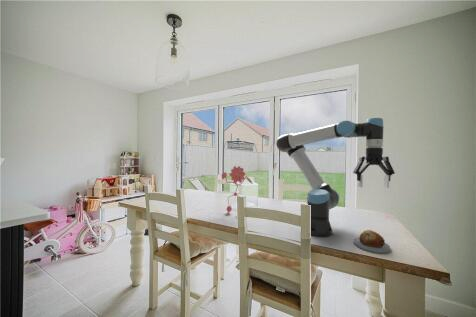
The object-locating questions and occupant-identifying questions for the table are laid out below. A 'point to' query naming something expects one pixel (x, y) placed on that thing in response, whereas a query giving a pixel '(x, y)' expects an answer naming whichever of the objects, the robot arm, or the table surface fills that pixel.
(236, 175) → the red flower ornament
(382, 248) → the plate
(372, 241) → the bread roll
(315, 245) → the table surface
